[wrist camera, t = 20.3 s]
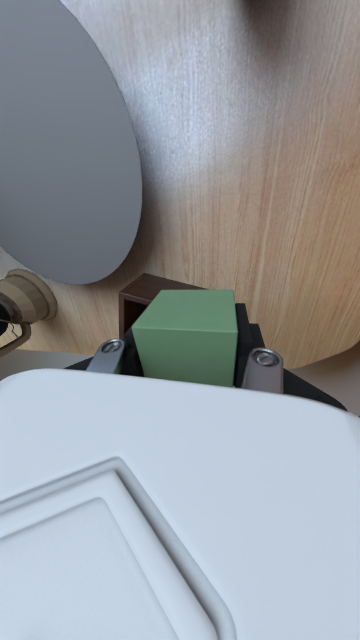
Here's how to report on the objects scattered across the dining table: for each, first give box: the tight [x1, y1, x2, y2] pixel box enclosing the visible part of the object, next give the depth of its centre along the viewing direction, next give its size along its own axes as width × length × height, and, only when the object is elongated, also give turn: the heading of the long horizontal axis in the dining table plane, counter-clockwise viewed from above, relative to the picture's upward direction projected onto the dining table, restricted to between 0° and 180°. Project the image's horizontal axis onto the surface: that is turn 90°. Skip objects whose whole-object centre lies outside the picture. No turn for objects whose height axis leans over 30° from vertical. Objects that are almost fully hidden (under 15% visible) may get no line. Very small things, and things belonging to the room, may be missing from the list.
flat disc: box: [0, 0, 142, 285], centre depth 24 cm, size 28×28×4 cm
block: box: [132, 289, 238, 387], centre depth 10 cm, size 4×4×4 cm
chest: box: [119, 273, 209, 339], centre depth 30 cm, size 14×13×9 cm
